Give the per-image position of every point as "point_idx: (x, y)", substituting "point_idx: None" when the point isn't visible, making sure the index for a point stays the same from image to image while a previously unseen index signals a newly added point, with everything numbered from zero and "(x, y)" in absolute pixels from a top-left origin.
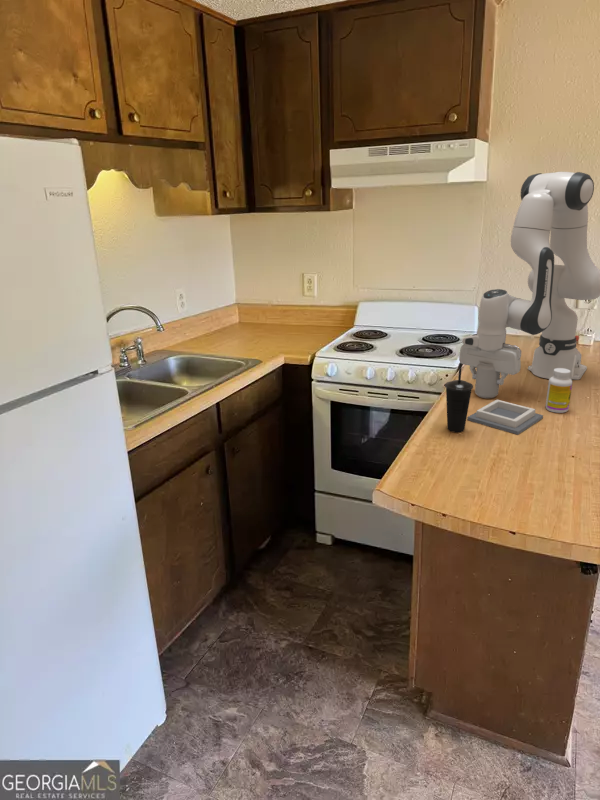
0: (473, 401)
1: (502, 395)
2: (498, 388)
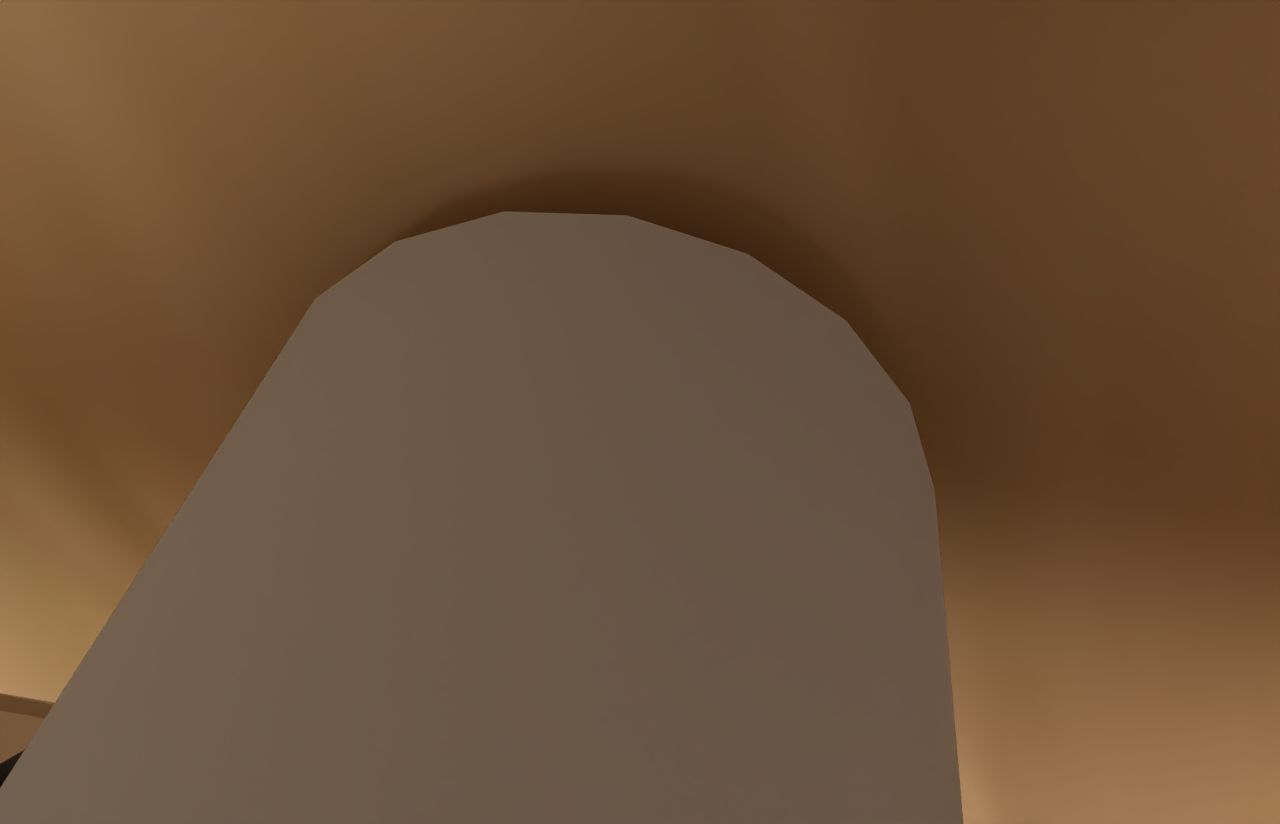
0: None
1: (1015, 205)
2: (945, 658)
